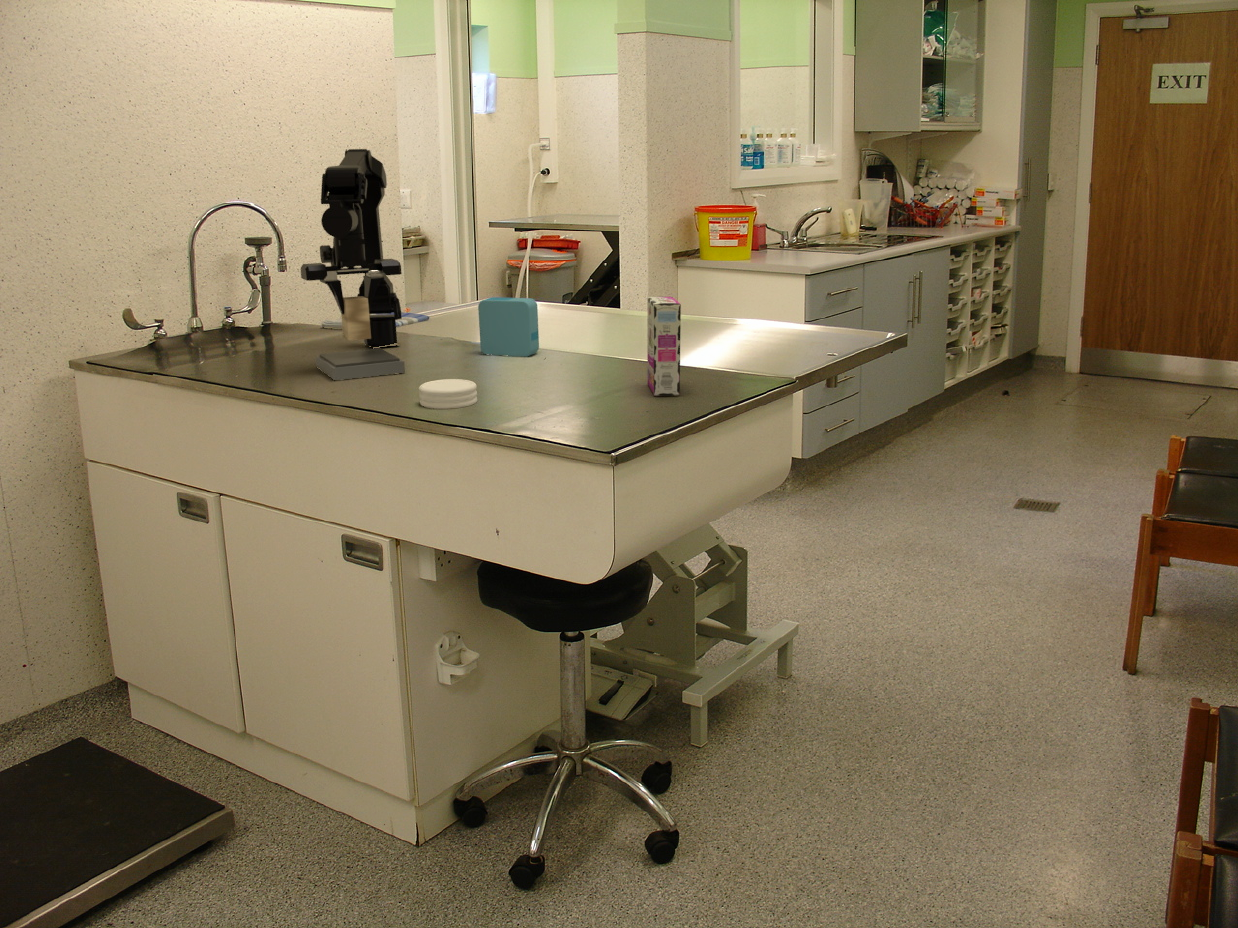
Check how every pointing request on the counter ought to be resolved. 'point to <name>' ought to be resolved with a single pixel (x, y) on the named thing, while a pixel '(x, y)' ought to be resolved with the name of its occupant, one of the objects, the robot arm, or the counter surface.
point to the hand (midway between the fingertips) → (355, 313)
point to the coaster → (448, 394)
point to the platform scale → (359, 363)
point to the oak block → (356, 318)
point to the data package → (508, 326)
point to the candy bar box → (664, 345)
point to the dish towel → (406, 317)
